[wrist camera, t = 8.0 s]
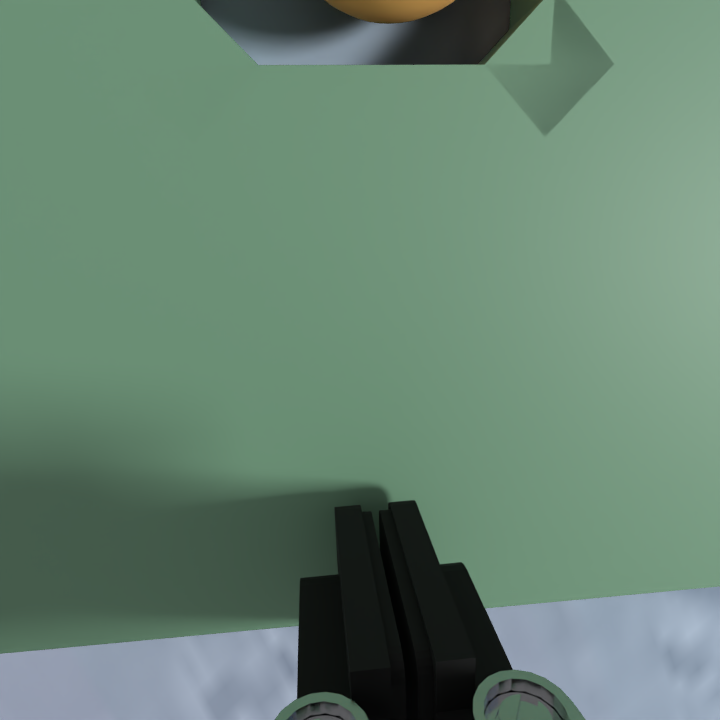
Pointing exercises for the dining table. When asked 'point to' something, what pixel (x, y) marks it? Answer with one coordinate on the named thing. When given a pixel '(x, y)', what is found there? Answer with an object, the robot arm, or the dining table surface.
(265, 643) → the dining table surface
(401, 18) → the ball
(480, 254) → the putting board
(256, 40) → the dining table surface
